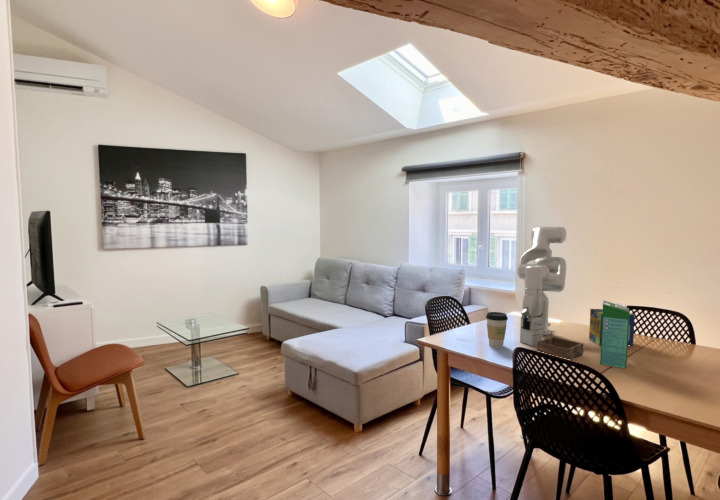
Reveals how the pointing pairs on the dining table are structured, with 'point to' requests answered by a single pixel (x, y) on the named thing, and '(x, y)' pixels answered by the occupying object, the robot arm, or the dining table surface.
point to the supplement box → (532, 331)
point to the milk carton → (614, 334)
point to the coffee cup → (496, 328)
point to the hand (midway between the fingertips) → (531, 328)
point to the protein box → (597, 326)
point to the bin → (561, 347)
